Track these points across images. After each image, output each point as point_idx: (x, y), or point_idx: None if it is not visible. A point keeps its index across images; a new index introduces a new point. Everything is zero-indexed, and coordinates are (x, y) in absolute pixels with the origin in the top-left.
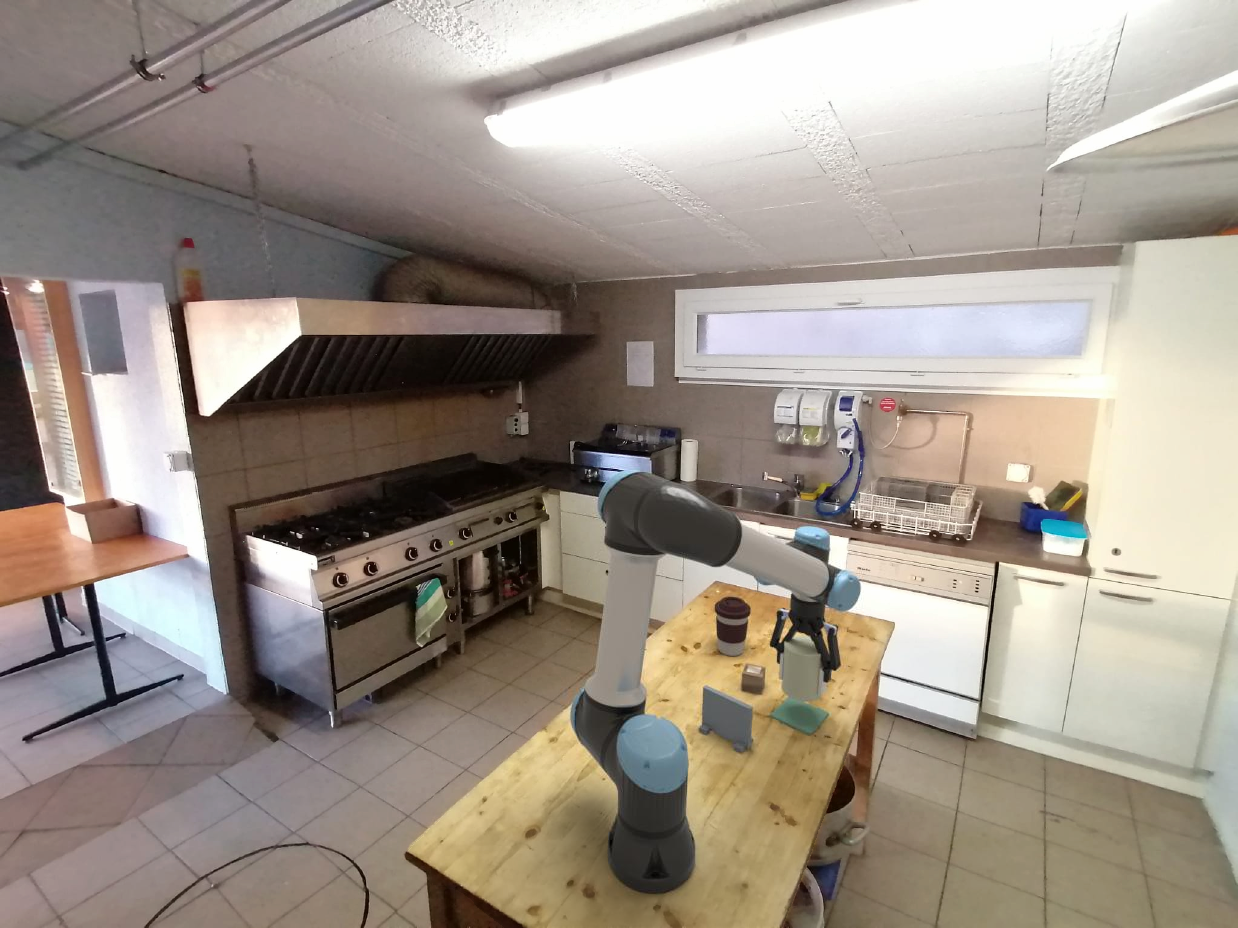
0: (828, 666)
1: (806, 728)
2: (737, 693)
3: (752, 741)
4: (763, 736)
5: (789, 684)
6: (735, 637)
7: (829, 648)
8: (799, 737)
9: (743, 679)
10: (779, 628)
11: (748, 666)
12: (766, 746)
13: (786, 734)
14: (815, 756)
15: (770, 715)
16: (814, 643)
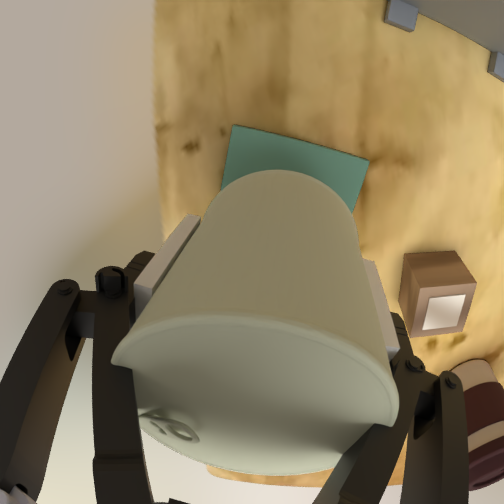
0: (97, 302)
1: (249, 143)
2: (463, 233)
3: (385, 18)
4: (363, 57)
5: (321, 203)
6: (475, 400)
7: (27, 389)
8: (261, 100)
9: (464, 270)
10: (441, 497)
11: (457, 319)
12: (341, 17)
13: (301, 95)
14: (199, 44)
15: (367, 160)
16: (137, 439)
